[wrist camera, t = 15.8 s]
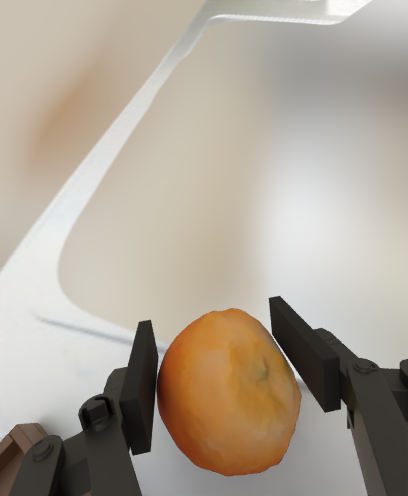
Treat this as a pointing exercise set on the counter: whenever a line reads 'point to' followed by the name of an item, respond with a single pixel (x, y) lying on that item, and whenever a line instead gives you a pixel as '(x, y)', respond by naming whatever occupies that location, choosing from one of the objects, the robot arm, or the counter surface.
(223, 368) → the fruit
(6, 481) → the tray
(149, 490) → the counter surface
